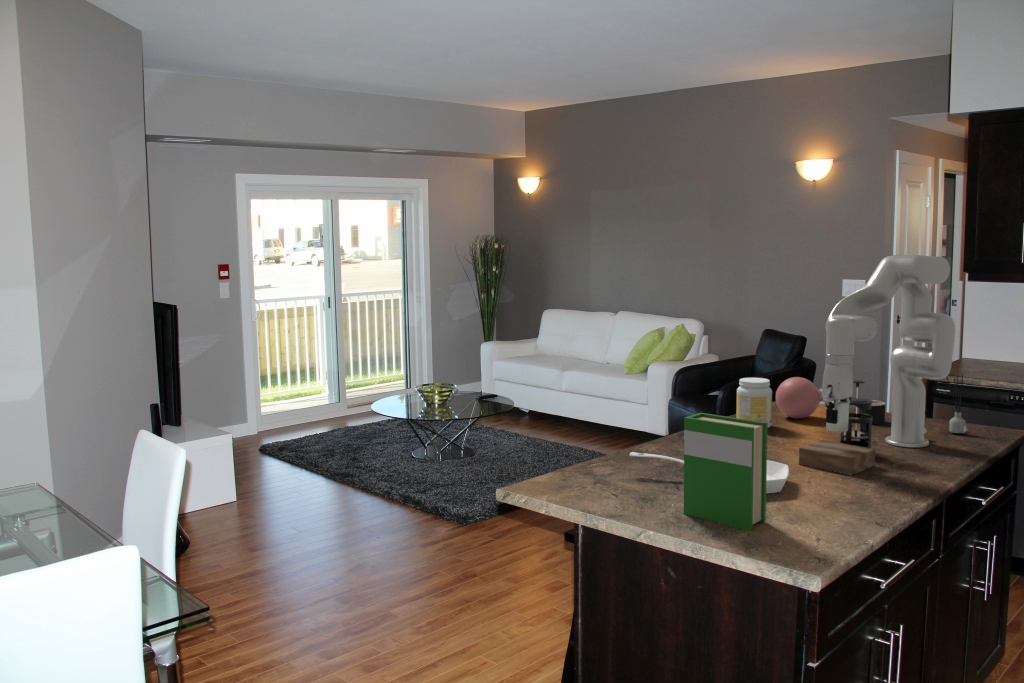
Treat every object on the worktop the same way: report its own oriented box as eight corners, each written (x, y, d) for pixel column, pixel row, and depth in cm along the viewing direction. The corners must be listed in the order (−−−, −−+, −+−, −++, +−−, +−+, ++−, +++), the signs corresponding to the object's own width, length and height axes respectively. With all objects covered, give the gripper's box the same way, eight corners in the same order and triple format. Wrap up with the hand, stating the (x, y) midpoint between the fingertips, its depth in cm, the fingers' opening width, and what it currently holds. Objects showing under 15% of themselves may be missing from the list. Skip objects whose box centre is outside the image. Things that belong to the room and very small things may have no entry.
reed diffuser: (960, 437, 266) (963, 377, 264) (938, 434, 271) (940, 375, 269) (970, 431, 273) (973, 373, 271) (948, 428, 278) (951, 371, 276)
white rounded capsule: (832, 426, 239) (833, 399, 238) (852, 429, 235) (853, 402, 234) (822, 429, 235) (823, 402, 234) (841, 432, 231) (842, 405, 230)
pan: (787, 503, 204) (787, 478, 203) (619, 488, 219) (619, 464, 218) (789, 473, 230) (790, 451, 229) (639, 462, 244) (639, 441, 244)
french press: (861, 460, 241) (863, 384, 238) (831, 454, 248) (833, 381, 245) (880, 453, 248) (883, 379, 246) (851, 448, 256) (853, 376, 253)
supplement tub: (747, 421, 296) (748, 375, 294) (778, 426, 287) (779, 379, 285) (729, 426, 288) (729, 380, 286) (760, 432, 279) (760, 384, 277)
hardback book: (765, 522, 190) (767, 422, 187) (750, 530, 185) (752, 428, 182) (699, 506, 202) (700, 412, 199) (683, 514, 197) (684, 417, 194)
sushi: (889, 423, 288) (890, 401, 287) (868, 425, 286) (869, 403, 285) (874, 419, 296) (875, 397, 295) (854, 420, 294) (855, 399, 293)
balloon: (821, 426, 286) (822, 383, 284) (767, 418, 299) (768, 378, 298) (838, 419, 297) (839, 377, 295) (786, 412, 310) (787, 372, 309)
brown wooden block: (822, 455, 247) (823, 439, 246) (874, 465, 235) (875, 449, 234) (798, 464, 238) (799, 448, 237) (851, 475, 226) (851, 458, 225)
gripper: (841, 356, 241) (839, 415, 243) (811, 361, 230) (810, 423, 232) (866, 358, 235) (864, 419, 237) (837, 364, 224) (834, 428, 226)
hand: (837, 420), depth 235 cm, fingers closed on white rounded capsule, 6 cm apart
